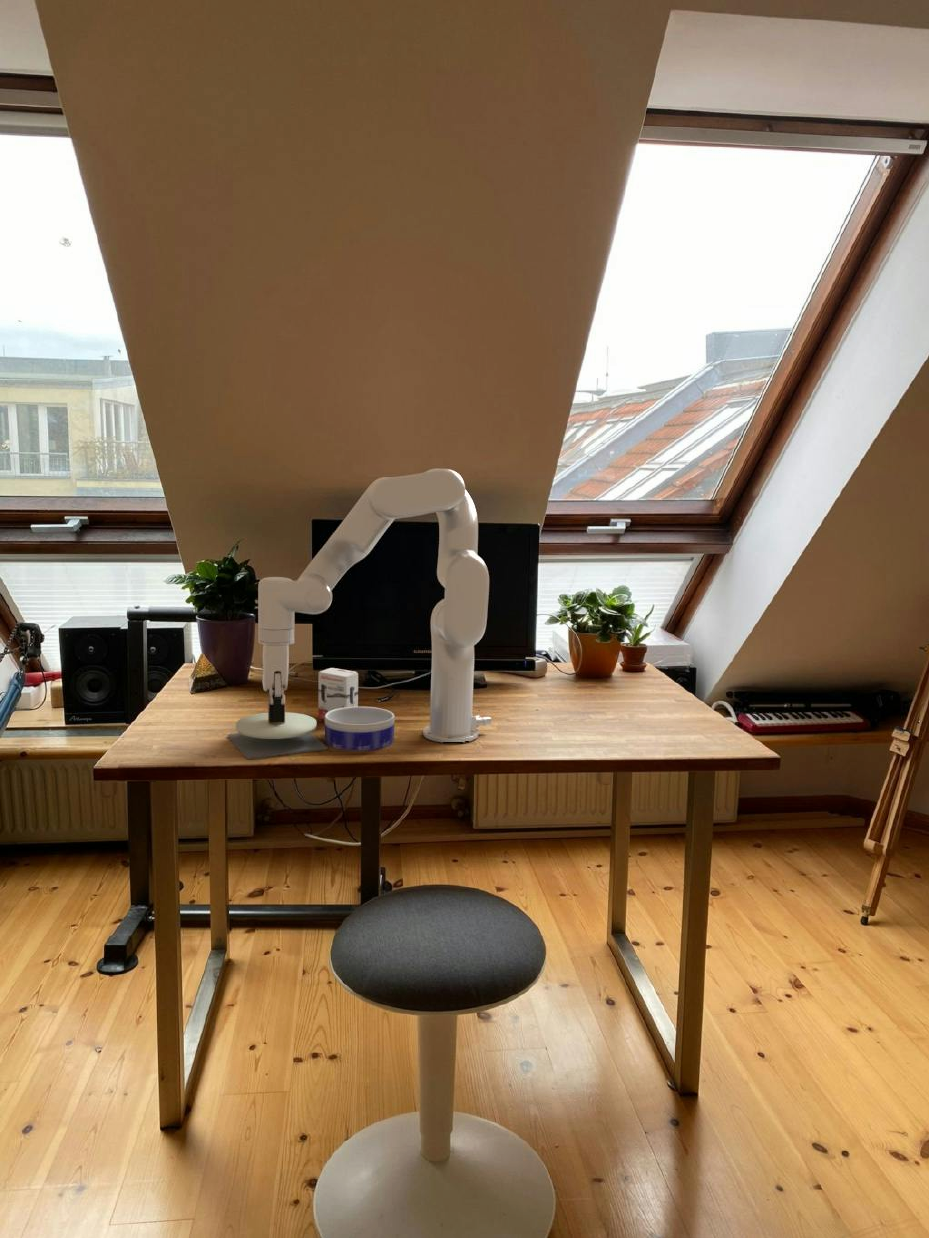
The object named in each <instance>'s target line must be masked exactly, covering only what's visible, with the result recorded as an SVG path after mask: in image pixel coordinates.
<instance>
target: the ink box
mask: <svg viewBox="0 0 929 1238" xmlns="http://www.w3.org/2000/svg"><path fill="white" fill-rule="evenodd" d="M317 674H318V675H317V677H318V680H317V681H318V683H317V684H318V692H317V694H318V719H319V720H323V721H325V714H326V713H327V712H329V711H331V710H334V709H338V708H344V707H359V673H358V672H357V671H353V670H347V669H341V668H335V667H330V668H326V669H324V670H320V671H318V673H317Z"/></svg>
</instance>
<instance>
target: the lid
mask: <svg viewBox="0 0 929 1238" xmlns="http://www.w3.org/2000/svg"><path fill="white" fill-rule="evenodd" d="M273 695H274V694H273ZM284 703H285V704H286V694H284ZM269 704H270V695H269V694H268V695H267V712H261V713H255V714H250V715H247V716H244V717H242V718H240V719H237V721H236V722H235V730H236V732H237V733H240V734H242V735H245V736H249V737H254V738H262V739H284V738H293V737H298V736H303V735H306V734H309V733H311V734H312V733H313V732H314V731H315V730H316V729H317V720H316V719H315V718H314V717H313V716H310V715H307V714H303V713H297V712H287V711H285V721H284V722H277V723H270V722H269Z"/></svg>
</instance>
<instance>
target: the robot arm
mask: <svg viewBox="0 0 929 1238" xmlns="http://www.w3.org/2000/svg"><path fill="white" fill-rule="evenodd" d="M433 513H435V514H436V516H437V520H438V526H439V527H438V529H439V531H438V532H439V537H438V539H439V541H438V543H439V544H438V557H437V568H436V576H437V580H438V582H439V583H440V585H441V586H442V587H443V588H444V598H442V599H441V600H440V601H439V602H437V603H436V605H435V606H434V608H433V609H432V612H431V616H430V635H431V636H430V637H431V670H430V672H431V674H430V675H431V679H430V708H429V710H430V713H429V715H430V716H429V717H430V718H429V725H426V726H425V727H424V728H423V730H422V735H423V737H425V739H428V741H429V740H430V741H433V742H437V743H443V742H463V743H466V742H465V741H469V742H472V741H474V739H475V740H477V738H478V737H479V730H478V729H477V728H479V727H480V726H488V725H491V724H492V718H491V717H490V716H482V717H481V716H480V715H474V714H473V703H474V701H473V699H474V678H475V677H474V674H475V673H474V670H475V645H477V643H479V642H480V640H481V639H482V638H483V636H484V634H485V632H486V629H487V622H488V621H487V620H488V607H489V595H490V593H489V592H490V575H489V570H488V567H487V565H486V563H485V561H484V560H483V558H481V557H480V556H479V555H478V552H479V551H478V550H479V549H478V546H479V545H478V544H479V543H478V542H479V520H478V514H477V509H476V505H475V503H474V501H473V499H472V498H471V496H470V494H469V493H468V491H467V490H466V484H465V482H464V479H463V478H462V476H461V475H460V474H459V473H458V472H456V471H454V470H453V469H449V468H431V469H429V470H426V471H424V472H420V473H415V474H414V473H413V474H410V475H400V476H392V477H389V476H388V477H387V476H383V477H379V478H377V479H375V480H374V481H373V482H371V484H370V485H369V486H368V487H367V489H366V490H365V491H364V493H363V494H362V495H361V497H360V498H359V499H358V500H357V502H356V503H355V505H354V506H353V507H352V509H351V510H350V511H349V513H348V514H347V515H346V517H344V519H343V520H342V522H341V523H340V524H339V526H338V527H337V528H336V530H334V532H332V535H330V537H329V538H328V540H327V541H326V542H325V544H324V545H323V546H322V548H320V550H319V551H318V552H317V554H315V556H314V557H313V559H311V561H310V562H309V564H307V566H306V568H305V569H304V571H302V573H301V574H300V576H299V578H298V579H297V580H293V579H291V578H289V577H285V576H284V577H283V576H268V577H264V578H262V579H260V581H259V582H258V587H257V591H258V593H257V594H258V597H257V601H258V605H257V607H258V608H257V609H258V611H257V615H258V616H257V618H258V619H257V620H258V624H257V625H258V626H257V627H258V629H257V631H258V638H257V640H258V643H259V644H260V645H262V679H261V680H262V687H263V691H265V692H267V691H269V693H268V695H270V704H269V722H270V723H277V722H284V721H285V712H286V702H285V703H284V695H285V691H286V690H288V684H289V683H288V682H289V666H290V665H289V663H290V661H289V659H290V657H289V656H290V654H289V653H290V645H292V644H295V621H296V620H295V618H296V617H295V613H301V614H307V615H319V614H322V613H324V612H326V611H327V610H328V609H329V608H330V606H331V604H332V601H333V592H332V591H333V589H334V588H335V586H336V585H337V584H338V582H339V581H340V580H341V579H342V577H343V576H344V575H345V574H346V573H347V571H348V570H349V569H350V568H352V567H353V566H354V565H355V564H357V563H359V562H360V561H361V560H364V559H365V558H366V557H367V556H368V555H369V554H370V553H371V551H372V550H373V549H374V547H375V546H376V545H377V543H378V542H379V540H380V539H381V538H382V536H383V535H384V533H386V531H387V530H388V528H390V526H391V524H393V522H394V521H395V519H403V518H410V517H411V518H412V517H418V516H423V515H427V514H433ZM273 694H274V695H273Z"/></svg>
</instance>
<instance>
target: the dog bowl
mask: <svg viewBox="0 0 929 1238" xmlns="http://www.w3.org/2000/svg"><path fill="white" fill-rule="evenodd" d="M395 717H396V716H395V714H394V713H393V712H392V711H390V710H388V709H384V708H380V707H375V706H358V707H344V708H338V709H334V710H331V711H329V712H327V713H326V714H325V720H324V741H325V743H326V744H327V745H328V746H330V747H331V748H334V749H337V750H342V751H350V752H351V751H352V752H364V751H365V752H367V751H375V750H381V749H383V748H388V747H389V746H391V745H392V744H393V743H394V739H395V738H394V737H395V719H396V718H395Z"/></svg>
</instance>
